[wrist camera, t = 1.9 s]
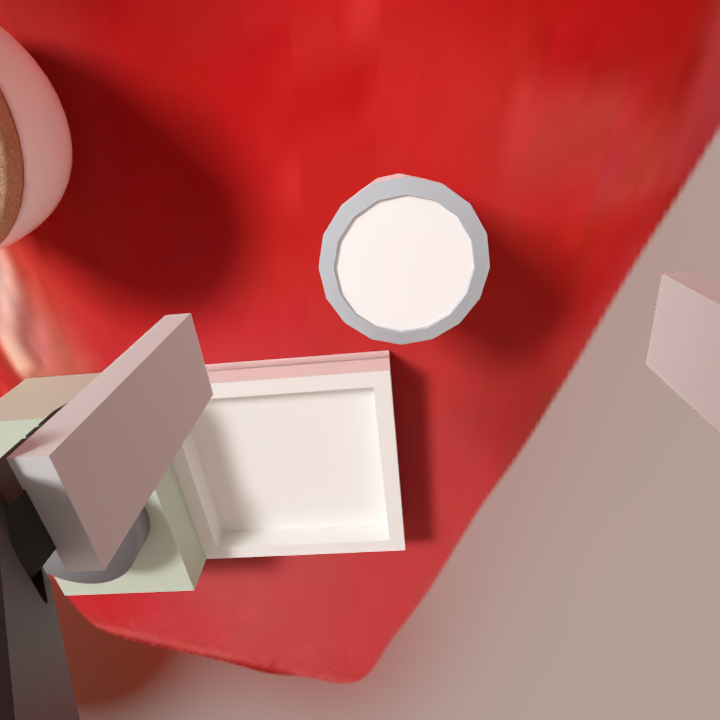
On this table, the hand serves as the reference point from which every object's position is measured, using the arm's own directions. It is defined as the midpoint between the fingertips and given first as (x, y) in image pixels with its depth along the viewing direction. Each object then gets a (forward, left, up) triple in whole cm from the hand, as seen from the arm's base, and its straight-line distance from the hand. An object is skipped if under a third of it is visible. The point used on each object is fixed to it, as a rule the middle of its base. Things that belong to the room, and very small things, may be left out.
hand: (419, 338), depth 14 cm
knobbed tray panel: (+14, -13, -13) cm, 23 cm away
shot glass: (0, 0, -13) cm, 13 cm away
